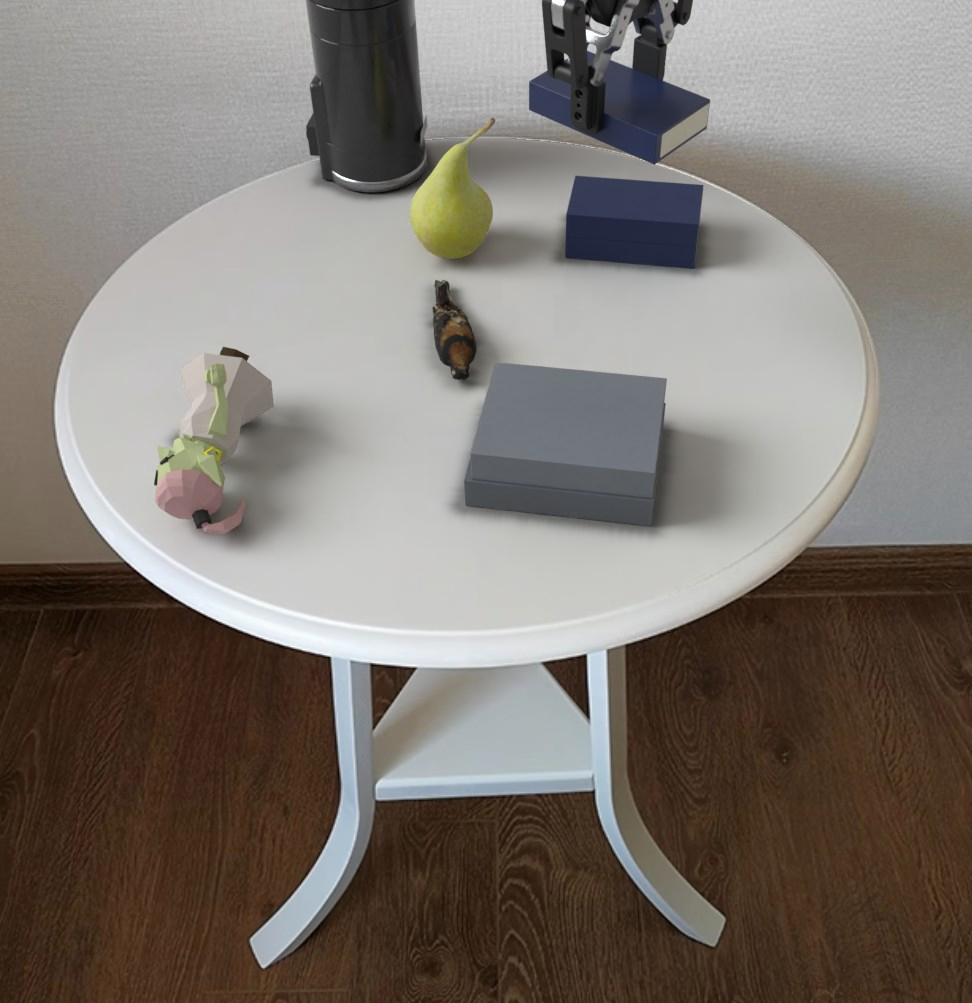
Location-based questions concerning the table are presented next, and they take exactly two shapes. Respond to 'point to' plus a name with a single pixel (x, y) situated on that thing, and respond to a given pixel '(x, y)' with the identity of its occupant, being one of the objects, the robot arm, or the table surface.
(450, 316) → the bird model
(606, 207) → the navy stack
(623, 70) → the navy book
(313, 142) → the robot arm
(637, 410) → the grey stack
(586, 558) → the table surface
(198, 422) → the figurine
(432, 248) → the fruit
